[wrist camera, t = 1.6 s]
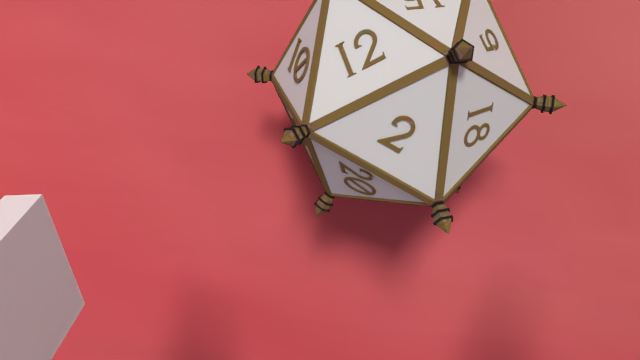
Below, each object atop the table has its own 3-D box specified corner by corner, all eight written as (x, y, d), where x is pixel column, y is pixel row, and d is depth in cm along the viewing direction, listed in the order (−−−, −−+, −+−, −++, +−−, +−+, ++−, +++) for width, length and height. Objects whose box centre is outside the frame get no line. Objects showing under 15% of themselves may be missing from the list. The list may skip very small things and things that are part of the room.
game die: (429, 48, 25) (518, 265, 21) (231, 68, 24) (283, 311, 19) (517, -151, 18) (684, 123, 13) (234, -147, 16) (321, 176, 11)
